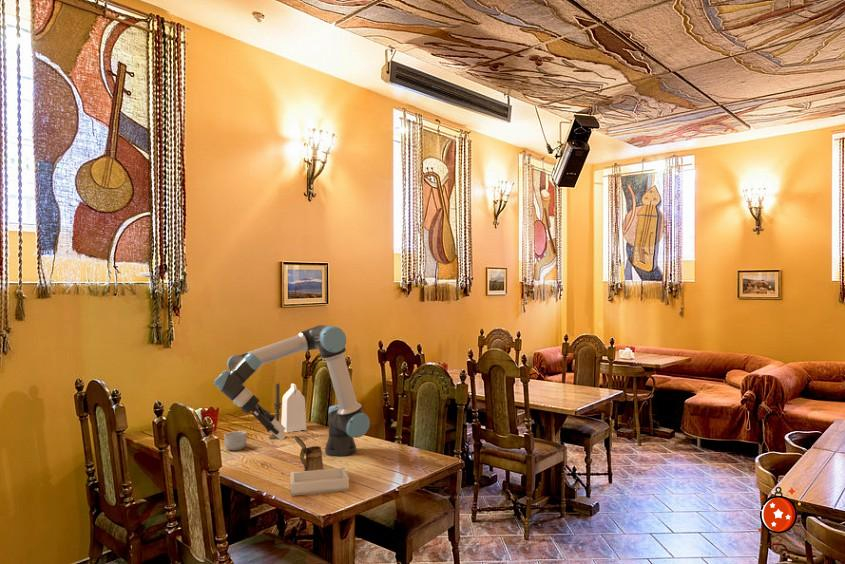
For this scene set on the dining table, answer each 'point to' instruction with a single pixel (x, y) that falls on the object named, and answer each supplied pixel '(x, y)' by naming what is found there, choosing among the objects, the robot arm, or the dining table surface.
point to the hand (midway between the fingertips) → (283, 434)
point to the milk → (293, 410)
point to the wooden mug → (310, 456)
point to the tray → (319, 481)
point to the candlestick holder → (276, 405)
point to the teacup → (235, 440)
